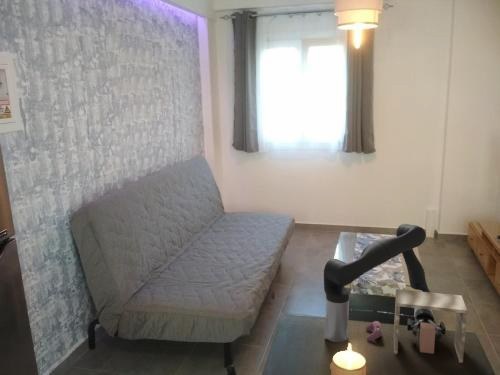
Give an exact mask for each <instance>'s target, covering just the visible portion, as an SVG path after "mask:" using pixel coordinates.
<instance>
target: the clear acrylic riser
mask: <svg viewBox="0 0 500 375" xmlns="http://www.w3.org/2000/svg"><path fill="white" fill-rule="evenodd" d="M394 304H395V305H394V321H393V323H394V324H393V353H394V355H398V353H399V352H398V351H399V350H398V349H399V332H400V315H401V314H400V312H401V307H403V308H412V309H413V308H420V309H429V310H432V311H439V312H449V313H456V319H455V332H454V341H453V346H454V349H455V352H456V356H457V359H458V363H460V364H464V352H465V351H464V350H465V342H466V329H467V318H468V309H467V306H466V304H465V301H464V298H463V295H462V294H461V295H460V294H459V295H458V294H449V293H440V292H431V291H430V292H423V291H421V290H409V289H399V288H395V302H394Z"/></svg>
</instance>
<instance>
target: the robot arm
mask: <svg viewBox="0 0 500 375" xmlns="http://www.w3.org/2000/svg"><path fill="white" fill-rule="evenodd" d="M395 236H396V237H389V238H383V239H380V240H377V241H373V242H372V243H370V244H368V245H367V246H366V247H365V248H363V250H362V252H361V254H360V256H359V257H358V258H357V259H355V260H353V261H351V262H347V263H346V262H344V261H343V260H340V259H337V258H331V259H329V260H328V261H327V262H326V263H325V265H324V267H323V268H324V269H323V288H324V289H323V291H324V293H325V316H324V339H325V340H328V341H329V342H333V343H343V342H346V341H347V340H348V338H349V312H350V311H349V310H350V309H349V308H350V307H349V306H350V294H349V291H348V290H347V288H346V287H345V286H348V285H350V284H352V283H353V282H354V281H356V280H357V279H359V278H361V276H363V275H364V274H366V273H368V272H370V271H372V270H373V269H375V268H377V267H378V266H380V265H383V264H385V263H386V262H388V261H390V260H392V259H393V258H395V257H397V256H399V255H401V254H402V257H403V259H404V262H405V266H406V269H407V274H408V279H409V280H408V281H409V286H410V288H411V289H413V290H415V291H421V292H431V291H430V290H429V287H428V284H427V279H426V274H425V273H426V272H425V269H424V267H423V265H422V263H421V262H420V259H419V258H418V256H417V255H416V253H415V251H414V249H415V248H418V247H419V246H420V247H421V245H422V244H423V243H424V242H425V240H426V236H427V232H426V231H425V229H424V228H423V227H421V226H419V225H415V224H409V223H403V224H400V225H399V226H398V227H397V229H396V235H395ZM412 309H413V310H414V313H413V315H414V316H413V317H414V320H412V319H411V318H409V317H408V318H407V324H406V326H407V328H406V329H407V331H409V332H410V331H411V332H412V335H414V337H417V335H418V332H420V323H421V322H423V323H432V324H434V326H435V335H437V336H436V337H437V339H438V340H441V339H442V338H443V336H442V335H446V331H447V328H446V326H445V323H444V322H443V321H440V322H439V323H438V322H436V321H435V317H434V313H433V310H429V309H420V308H412Z"/></svg>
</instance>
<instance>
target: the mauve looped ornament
mask: <svg viewBox="0 0 500 375" xmlns="http://www.w3.org/2000/svg"><path fill="white" fill-rule="evenodd" d="M365 331H366V332H370V331H372V333H371V334H369V335H368V336H367V338H366V340H367V342H373V341H376V340H377V339H379V337H381V336H383V333H382V332H383V331H382V324H381V322H380V321H378V320H377V321H376V320H375V321H373V322H371V323H369V324H368V325H367V326H366V327H365Z"/></svg>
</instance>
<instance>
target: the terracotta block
mask: <svg viewBox="0 0 500 375" xmlns="http://www.w3.org/2000/svg"><path fill="white" fill-rule="evenodd" d="M435 339H436V333H435V326H434V324H432V323H423V322H421V323H420V330H419V340H418V341H419V343H418V346H419V348H418V349H419V352H420V353H426V354H435V341H436V340H435Z"/></svg>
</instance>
